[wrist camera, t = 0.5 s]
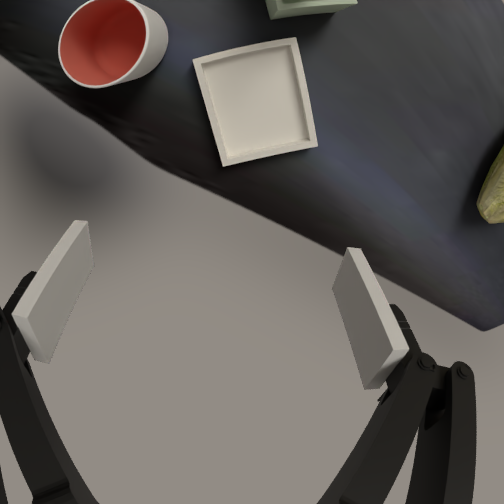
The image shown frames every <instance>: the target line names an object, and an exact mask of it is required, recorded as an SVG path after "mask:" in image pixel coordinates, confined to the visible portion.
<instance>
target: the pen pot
mask: <svg viewBox="0 0 504 504" xmlns="http://www.w3.org/2000/svg"><path fill="white" fill-rule="evenodd" d="M265 2H266V6H267V10H268V13H269V17H270V20H273V19H279V18H286V17H293V16H301V15H310V14H320V13H333V12H337V11H340V10H342V9H345V8H347V7H350V6H352V5H355V4H357V0H265Z"/></svg>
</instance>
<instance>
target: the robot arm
mask: <svg viewBox="0 0 504 504" xmlns="http://www.w3.org/2000/svg"><path fill="white" fill-rule="evenodd" d="M93 267H94V261H93V254H92V248H91V241H90V235H89V227H88V221H78V220H75V221H74V222H73V223H72V225H71V226H70V227H69V228H68V230H67V231H66V232H65V234H64V235H63V236H62V238H61V239H60V241H59V242H58V243H57V245H56V246H55V248H54V249H53V250H52V252H51V253H50V255H49V256H48V257H47V259H46V260H45V262H44V263H43V265H42V266H41V268H40V269H39V271H38V272H34V271H31V272H30V273H29V274H27V275H26V276H25V277H23V279H22V280H21V282H20V283H19V285H18V287H17V288H16V289H15V291H14V294H12V296H11V297H10V299H9V300H8V302H7V304H6V305H5V307H4V308H3V310H2V309H1V307H0V415H1V418H2V421H3V424H4V427H5V430H6V433H7V436H8V439H9V442H10V444H11V447H12V450H13V452H14V455H15V457H16V460H17V462H18V464H19V467H20V469H21V471H22V473H23V476H24V478H25V480H26V482H27V485H28V487H29V489H30V491H31V492H32V495H33V501H32V504H99V503H98V502H97V501H96V499H95V498H94V496H93V495H92V493H91V492H90V490H89V489H88V487H87V485H86V484H85V482H84V481H83V479H82V477H81V476H80V474H79V472H78V470H77V469H76V467H75V465H74V463H73V461H72V460H71V458H70V456H69V454H68V452H67V451H66V448H65V446H64V444H63V442H62V440H61V439H60V436H59V434H58V432H57V430H56V428H55V426H54V424H53V422H52V419H51V417H50V415H49V413H48V410H47V408H46V406H45V403H44V401H43V398H42V396H41V394H40V391H39V388H38V386H37V383H36V380H35V378H34V375H33V372H32V370H31V366H30V364H29V362H28V360H27V357H28V355H29V353H30V352H31V354H32V356H33V358H34V360H37V361H40V362H44V363H48V364H49V363H50V361H51V358H52V356H53V353H54V350H55V348H56V346H57V343H58V341H59V339H60V336H61V334H62V332H63V329H64V327H65V325H66V323H67V320H68V318H69V316H70V314H71V312H72V309H73V307H74V305H75V303H76V301H77V299H78V297H79V295H80V293H81V291H82V289H83V287H84V285H85V283H86V281H87V279H88V277H89V275H90V273H91V271H92V269H93ZM332 290H333V292H334V295H335V298H336V301H337V304H338V307H339V310H340V313H341V316H342V319H343V322H344V325H345V328H346V331H347V334H348V337H349V341H350V344H351V347H352V350H353V354H354V357H355V360H356V363H357V366H358V370H359V373H360V377H361V380H362V383H363V387H364V389H365V390H366V389H378V388H380V387H381V386H382V385H383V383H384V382H385V381H386V383H387V386H388V388H387V390H386V391H385V392H384V393H383V394H382V396H381V397H380V398H379V399H378V401H380V402H379V404H378V406H377V408H376V410H375V412H374V414H373V415H372V418H371V419H370V421H369V423H368V425H367V426H366V428H365V430H364V432H363V434H362V435H361V437H360V439H359V440H358V442H357V444H356V446H355V448H354V449H353V451H352V452H351V454H350V455H349V457H348V459H347V460H346V462H345V464H344V465H343V467H342V468H341V470H340V471H339V473H338V474H337V476H336V477H335V479H334V481H333V482H332V483H331V485H330V486H329V488H328V489H327V491H326V492H325V493H324V495H323V496H322V498H321V499H320V500H319V502H318V503H317V504H383V503H384V501H385V499H386V497H387V495H388V493H389V491H390V490H391V488H392V486H393V484H394V482H395V480H396V477H397V476H398V474H399V471H400V469H401V467H402V465H403V463H404V460H405V458H406V456H407V454H408V451H409V449H410V447H411V445H412V442H413V440H414V437H415V435H416V432H417V430H418V427H419V430H418V438H417V445H416V451H415V458H414V464H413V469H412V475H411V481H410V485H409V490H408V495H407V499H406V503H405V504H472V498H473V490H474V479H475V465H476V396H475V382H474V374H473V371H472V370H471V368H470V367H469V366H468V365H467V364H465V363H464V362H460V361H457V362H455V363H454V364H453V365H452V366H451V367H450V368H447V367H443V366H439V365H437V364H436V362H435V360H434V359H433V358H432V357H431V356H429V355H428V354H426V353H422V352H421V349H420V347H419V345H418V343H417V341H416V339H415V337H414V334H413V332H412V330H411V329H410V326H409V324H408V322H407V320H406V318H405V316H404V314H403V312H402V311H401V310H400V309H399V308H398V307H397V306H396V305H395V304H388V302H387V299H386V297H385V295H384V293H383V291H382V289H381V287H380V285H379V284H378V281H377V279H376V277H375V275H374V274H373V272H372V270H371V268H370V266H369V264H368V262H367V260H366V258H365V256H364V254H363V253H362V251H361V249H358V248H350V247H347V250H346V252H345V255H344V258H343V260H342V263H341V266H340V269H339V271H338V274H337V276H336V279H335V282H334V284H333V287H332ZM0 504H8V501H7V497H6V493H5V488H4V483H3V479H2V473H1V467H0Z"/></svg>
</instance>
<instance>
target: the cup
mask: <svg viewBox="0 0 504 504" xmlns="http://www.w3.org/2000/svg"><path fill="white" fill-rule="evenodd" d="M167 45H168V31H167V27H166V24H165V22H164V21H163V19H162V18H161V16H160V15H159V14H157V13H156V12H155V11H153V10H152V9H150V8H148V7H146V6H144V5H142V4H140V3H138V2H136V1H134V0H90V1H88V2H86V3H85V4H83V5H82V6H80V7H79V8H78V9H77V10H76V11H75V12H74V13H73V14H72V15H71V16H70V18H69V19H68V21H67V22H66V24H65V26H64V28H63V30H62V32H61V35H60V39H59V46H58V54H59V60H60V63H61V66H62V68H63V70H64V72H65V73H66V75H67V76H68V77H69V78H70V79H71V80H72V81H74V82H75V83H77V84H79V85H81V86H84V87H88V88H104V87H108V86H112V85H115V84H119V83H123V82H126V81H130V80H134V79H137V78H140V77H142V76H144V75H146V74H147V73H149V72H150V71H152V70H153V69H154V68H155V67H156V66H157V65H158V64H159V62H160V61H161V59H162V58H163V56H164V54H165V52H166V49H167Z"/></svg>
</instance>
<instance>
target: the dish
mask: <svg viewBox="0 0 504 504" xmlns="http://www.w3.org/2000/svg"><path fill="white" fill-rule="evenodd" d="M193 63H194V67H195V70H196V74H197V77H198V81H199V84H200V88H201V91H202V95H203V98H204V102H205V105H206V109H207V112H208V116H209V119H210V123H211V126H212V130H213V133H214V137H215V140H216V144H217V147H218V151H219V154H220V158H221V161H222V165H223V167H224V166H228V165H232V164H237V163H241V162H245V161H249V160H254V159H258V158H263V157H267V156H272V155H276V154H281V153H286V152H291V151H296V150H301V149H306V148H311V147H317V146H318V144H317V138H316V133H315V127H314V121H313V116H312V110H311V105H310V100H309V95H308V90H307V85H306V80H305V75H304V70H303V66H302V61H301V57H300V52H299V48H298V43H297V39H296V37H293V38H286V39H280V40H274V41H269V42H263V43H258V44H253V45H248V46H244V47H239V48H235V49H231V50H226V51H222V52H218V53H214V54H211V55H207V56H203V57H200V58H196V59H193Z"/></svg>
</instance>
